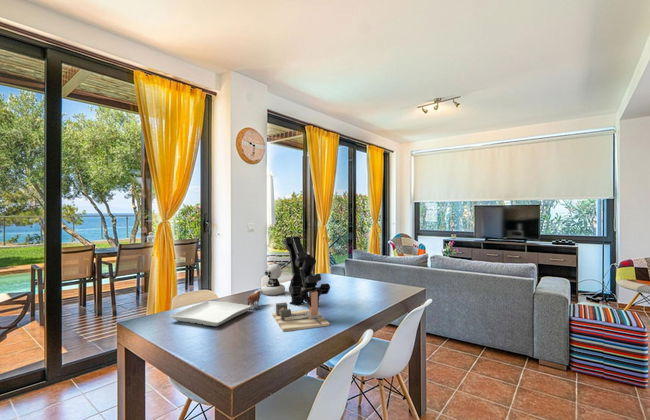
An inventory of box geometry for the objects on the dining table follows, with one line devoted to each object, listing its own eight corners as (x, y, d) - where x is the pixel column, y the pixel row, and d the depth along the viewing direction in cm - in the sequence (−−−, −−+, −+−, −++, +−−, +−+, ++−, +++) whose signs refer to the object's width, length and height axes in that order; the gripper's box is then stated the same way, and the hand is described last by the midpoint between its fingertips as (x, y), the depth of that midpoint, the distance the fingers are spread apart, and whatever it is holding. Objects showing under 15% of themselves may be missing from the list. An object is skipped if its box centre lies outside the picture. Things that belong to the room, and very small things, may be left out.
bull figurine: (264, 303, 183) (264, 288, 183) (251, 310, 170) (251, 294, 170) (258, 302, 184) (257, 287, 184) (244, 309, 172) (244, 293, 172)
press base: (272, 315, 161) (272, 303, 161) (313, 310, 168) (313, 299, 168) (283, 331, 140) (282, 317, 140) (329, 325, 147) (329, 311, 147)
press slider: (280, 318, 153) (280, 292, 153) (317, 313, 159) (317, 289, 159) (283, 322, 147) (282, 296, 147) (321, 317, 154) (321, 292, 154)
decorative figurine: (256, 293, 204) (255, 261, 204) (272, 289, 216) (272, 258, 216) (273, 297, 195) (273, 263, 195) (290, 292, 207) (289, 260, 207)
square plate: (168, 323, 152) (168, 315, 152) (208, 307, 178) (208, 299, 178) (217, 330, 143) (217, 321, 143) (252, 312, 168) (252, 304, 168)
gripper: (291, 269, 156) (298, 298, 146) (328, 266, 162) (337, 294, 152) (287, 282, 163) (293, 311, 153) (323, 279, 170) (331, 307, 159)
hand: (314, 305), depth 154 cm, fingers closed on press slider, 3 cm apart
